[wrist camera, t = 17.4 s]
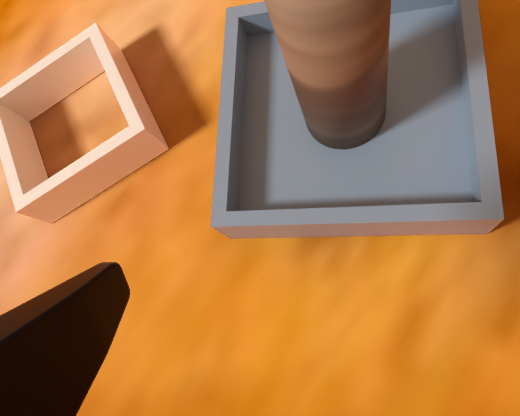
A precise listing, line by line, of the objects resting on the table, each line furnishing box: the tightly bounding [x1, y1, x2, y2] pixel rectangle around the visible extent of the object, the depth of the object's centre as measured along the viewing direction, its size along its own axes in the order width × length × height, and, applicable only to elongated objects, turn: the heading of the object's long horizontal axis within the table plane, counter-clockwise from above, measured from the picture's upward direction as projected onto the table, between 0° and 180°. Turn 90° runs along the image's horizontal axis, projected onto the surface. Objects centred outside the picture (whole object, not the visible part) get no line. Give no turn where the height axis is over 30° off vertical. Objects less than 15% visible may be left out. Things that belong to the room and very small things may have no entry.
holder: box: [0, 22, 169, 224], centre depth 28 cm, size 10×10×3 cm
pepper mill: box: [264, 0, 391, 150], centre depth 17 cm, size 4×4×12 cm
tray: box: [211, 0, 504, 238], centre depth 23 cm, size 14×14×3 cm
